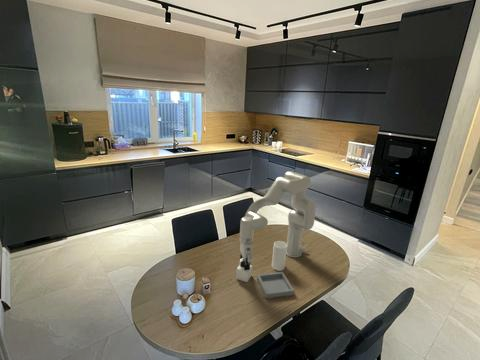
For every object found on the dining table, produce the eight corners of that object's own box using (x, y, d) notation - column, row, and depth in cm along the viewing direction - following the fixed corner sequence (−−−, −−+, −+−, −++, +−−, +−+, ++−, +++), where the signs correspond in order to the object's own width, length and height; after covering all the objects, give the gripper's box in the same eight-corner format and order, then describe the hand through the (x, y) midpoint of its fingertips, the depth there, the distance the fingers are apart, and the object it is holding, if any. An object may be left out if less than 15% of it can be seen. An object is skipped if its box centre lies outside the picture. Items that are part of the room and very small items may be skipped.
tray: (282, 275, 154) (282, 271, 153) (293, 294, 139) (294, 290, 138) (256, 279, 150) (257, 274, 149) (265, 299, 135) (266, 294, 134)
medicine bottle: (251, 275, 153) (253, 258, 149) (247, 282, 147) (248, 264, 143) (241, 271, 156) (242, 254, 152) (235, 278, 149) (236, 261, 146)
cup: (285, 264, 165) (288, 242, 160) (283, 272, 158) (286, 249, 153) (273, 261, 167) (275, 239, 163) (270, 268, 160) (272, 246, 155)
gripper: (257, 246, 136) (255, 273, 141) (248, 230, 152) (247, 255, 158) (243, 247, 134) (242, 275, 140) (236, 231, 150) (235, 256, 156)
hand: (244, 264), depth 149 cm, fingers open, 8 cm apart
